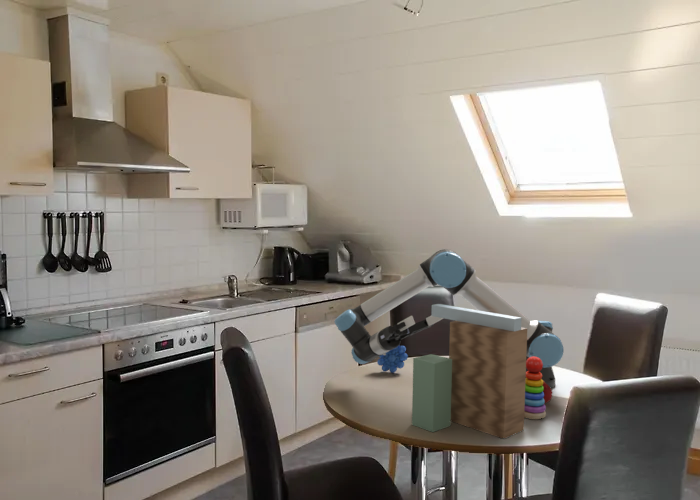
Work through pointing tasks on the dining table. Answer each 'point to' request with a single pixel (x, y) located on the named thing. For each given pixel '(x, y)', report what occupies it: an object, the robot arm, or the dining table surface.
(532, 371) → the stacking toy
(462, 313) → the rod
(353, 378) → the dining table surface
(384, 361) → the blue bumpy round piece
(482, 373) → the stand
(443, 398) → the post
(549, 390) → the onion
